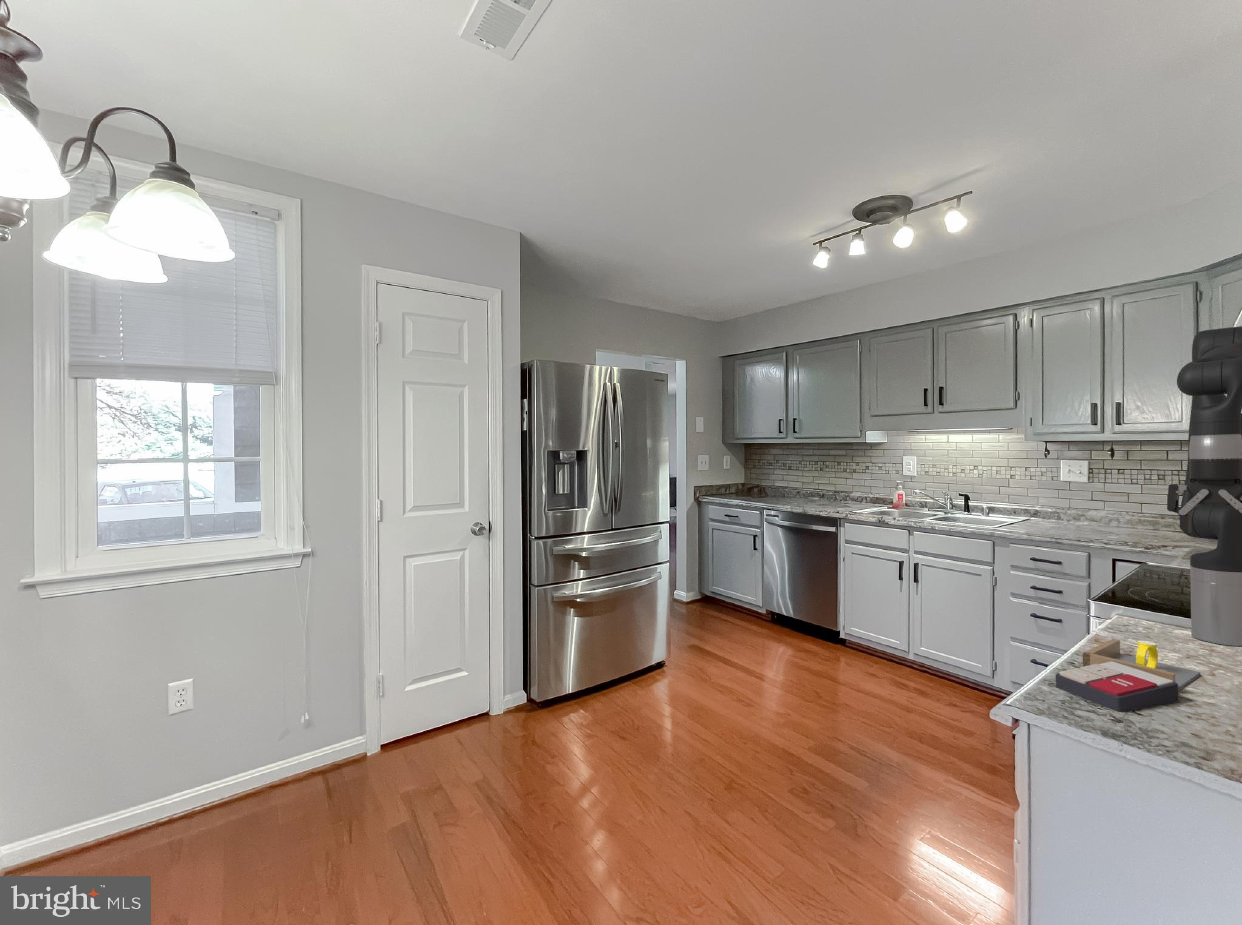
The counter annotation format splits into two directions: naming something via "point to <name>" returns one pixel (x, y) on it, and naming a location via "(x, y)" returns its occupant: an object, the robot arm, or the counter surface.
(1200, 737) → the counter surface
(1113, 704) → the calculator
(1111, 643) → the corner tray
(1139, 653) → the watch
